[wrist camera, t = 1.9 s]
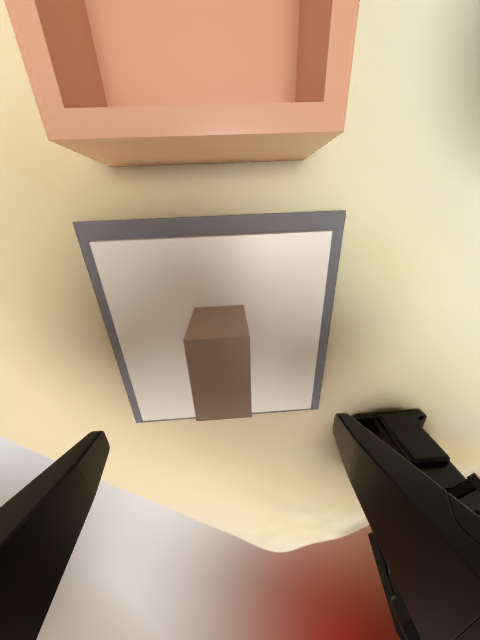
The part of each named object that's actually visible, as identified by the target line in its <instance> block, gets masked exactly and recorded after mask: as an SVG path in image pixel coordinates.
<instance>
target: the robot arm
mask: <svg viewBox="0 0 480 640" xmlns="http://www.w3.org/2000/svg"><path fill="white" fill-rule="evenodd" d="M426 417H427V416H426V414H425V413H424V412H423V411H421V410H415V411H402V412H389V413H376V414H363V415H356V416H354V417H351V416H350V415H349V414H347V413H337V414H336V415H335V418H334V424H333V434H334V437H335V440H336V443H337V446H338V449H339V452H340V455H341V458H342V462H343V464H344V467H345V469H346V472H347V475H348V477H349V480H350V482H351V484H352V487H353V489H354V491H355V493H356V496H357V498H358V500H359V502H360V504H361V507H362V509H363V511H364V513H365V516H366V518H367V520H368V522H369V524H370V527H371V529H372V532H370V533H368V536H369V539H370V543H371V546H372V550H373V554H374V557H375V561H376V564H377V567H378V571H379V574H380V577H381V581H382V584H383V588H384V591H385V595H386V598H387V601H388V605H389V608H390V612H391V615H392V618H393V622H394V625H395V628H396V631H397V633H398V635H399V637H400V638H401V640H480V477H479V476H478V475H477V474H475V473H473V474H471V475H469V476H468V477H467V478H468V479H466V478H465V477H464V476H463V475H462V474H461V473H460V472H459V471H458V470H457V468H456V467H455V466H454V465H453V464H452V463H451V462H450V457H449V456H448V455H447V454H446V453H445V452H444V451H443V449H442V448H441V447H440V446H439V445H438V444H437V443H436V442H435V441H434V440H433V439H432V438H431V437H430V435H429V434H428V433H427V432H426V431H425V430H424V429H423V428H422V427H423V424H424V422H425V420H426ZM109 449H110V446H109V443H108V440H107V438H106V435H105V433H104V432H103V431H93V432H90V433H89V434H88V435H86V436H85V437H84V438H83V439H82V440H80V441H79V442H78V443H77V444H76V445H74V446H73V447H72V448H71V449H70V450H68V451H67V452H66V453H65V454H64V455H62V456H61V457H60V458H59V459H58V460H56V461H55V462H54V463H53V464H52V465H50V466H49V467H48V468H47V469H46V470H44V471H43V472H42V473H41V474H40V475H39V476H37V477H36V478H35V479H34V480H32V481H31V482H30V483H29V484H28V485H26V486H25V487H24V488H23V489H22V490H21V491H19V492H18V493H17V494H16V495H15V496H13V497H12V498H11V499H10V500H9V501H7V502H6V503H5V504H4V505H3V506H2V507H0V640H36V639H37V636H38V634H39V631H40V629H41V627H42V624H43V621H44V619H45V617H46V614H47V612H48V610H49V607H50V605H51V602H52V600H53V598H54V595H55V593H56V590H57V588H58V585H59V583H60V580H61V578H62V576H63V573H64V571H65V568H66V566H67V563H68V561H69V559H70V556H71V554H72V551H73V549H74V547H75V544H76V542H77V539H78V537H79V534H80V532H81V530H82V527H83V525H84V522H85V520H86V517H87V515H88V512H89V510H90V508H91V505H92V503H93V500H94V497H95V495H96V492H97V489H98V486H99V482H100V479H101V476H102V473H103V470H104V466H105V463H106V460H107V457H108V454H109Z"/></svg>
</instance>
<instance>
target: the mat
mask: <svg viewBox="0 0 480 640" xmlns="http://www.w3.org/2000/svg"><path fill="white" fill-rule="evenodd" d="M345 215H346V210H345V211H322V212H298V213H275V214H251V215H228V216H204V217H181V218H157V219H134V220H110V221H87V222H73V225H74V228H75V231H76V235H77V238H78V241H79V244H80V247H81V250H82V253H83V257H84V260H85V263H86V266H87V269H88V272H89V275H90V279H91V282H92V285H93V288H94V291H95V294H96V297H97V301H98V304H99V307H100V310H101V313H102V316H103V319H104V323H105V326H106V329H107V332H108V335H109V338H110V341H111V344H112V348H113V351H114V354H115V357H116V360H117V363H118V366H119V370H120V373H121V376H122V379H123V382H124V385H125V388H126V392H127V395H128V398H129V401H130V404H131V407H132V410H133V414H134V417H135V420H136V423H140V422H153V421H166V420H180V419H193V418H196V417H190V418H176V419H163V420H149V421H143V419H142V416H141V413H140V409H139V406H138V403H137V399H136V396H135V393H134V389H133V386H132V383H131V379H130V376H129V373H128V369H127V366H126V363H125V359H124V356H123V353H122V349H121V346H120V343H119V339H118V336H117V333H116V330H115V326H114V323H113V320H112V316H111V313H110V310H109V306H108V303H107V300H106V296H105V293H104V290H103V286H102V283H101V280H100V276H99V273H98V270H97V266H96V263H95V260H94V256H93V253H92V250H91V246H90V243H89V242H94V241H104V240H126V239H148V238H170V237H192V236H214V235H236V234H258V233H280V232H302V231H323V230H327V231H332V239H331V247H330V255H329V263H328V271H327V279H326V288H325V296H324V304H323V312H322V320H321V328H320V337H319V345H318V353H317V361H316V369H315V377H314V386H313V394H312V402H311V408H310V409H297V410H283V411H270V412H257V413H252V414H260V413H273V412H287V411H300V410H313V409H318V407H319V399H320V392H321V385H322V378H323V371H324V364H325V357H326V350H327V343H328V336H329V329H330V322H331V314H332V307H333V300H334V293H335V286H336V279H337V272H338V265H339V258H340V251H341V244H342V236H343V229H344V222H345Z"/></svg>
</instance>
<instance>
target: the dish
mask: <svg viewBox="0 0 480 640" xmlns="http://www.w3.org/2000/svg"><path fill="white" fill-rule="evenodd" d="M4 1H5V5H6V8H7V11H8V14H9V17H10V20H11V24H12V27H13V30H14V33H15V36H16V39H17V43H18V46H19V49H20V52H21V55H22V58H23V62H24V65H25V68H26V71H27V74H28V77H29V81H30V84H31V87H32V90H33V93H34V96H35V100H36V103H37V106H38V109H39V112H40V115H41V119H42V122H43V125H44V128H45V131H46V134H47V138H48V140H49V141H52V142H54V143H56V144H59V145H61V146H63V147H66V148H68V149H70V150H73V151H75V152H77V153H80V154H82V155H84V156H87V157H89V158H91V159H94V160H96V161H98V162H101V163H103V164H105V165H108V166H110V167H114V166H144V165H173V164H202V163H232V162H261V161H291V160H304V159H306V158H307V157H308V156H310V155H311V154H313V153H314V152H315V151H317V150H318V149H320V148H321V147H322V146H324V145H325V144H327V143H328V142H329V141H331V140H332V139H334V138H335V137H336V136H338V135H339V134H341V133H342V132H343V131H344V125H345V116H346V108H347V100H348V92H349V83H350V75H351V67H352V59H353V50H354V42H355V34H356V26H357V17H358V9H359V1H360V0H4Z"/></svg>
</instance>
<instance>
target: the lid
mask: <svg viewBox="0 0 480 640" xmlns="http://www.w3.org/2000/svg"><path fill="white" fill-rule="evenodd" d="M331 239H332V231H327V230H323V231H302V232H280V233H258V234H236V235H214V236H192V237H170V238H148V239H126V240H104V241H94V242H89V243H90V246H91V250H92V253H93V256H94V260H95V263H96V266H97V270H98V273H99V276H100V280H101V283H102V286H103V290H104V293H105V296H106V300H107V303H108V306H109V310H110V313H111V316H112V320H113V323H114V326H115V330H116V333H117V336H118V339H119V343H120V346H121V349H122V353H123V356H124V359H125V363H126V366H127V369H128V373H129V376H130V379H131V383H132V386H133V389H134V393H135V396H136V399H137V403H138V406H139V409H140V413H141V416H142V419H143V421H149V420H163V419H176V418H190V417H196V421H204V420H218V419H231V418H244V417H252V413H257V412H270V411H283V410H297V409H310V408H311V402H312V394H313V386H314V377H315V369H316V361H317V353H318V345H319V337H320V328H321V320H322V312H323V304H324V296H325V288H326V279H327V271H328V263H329V255H330V247H331Z"/></svg>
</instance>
